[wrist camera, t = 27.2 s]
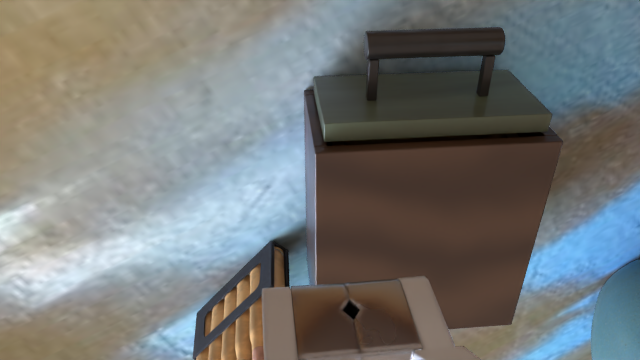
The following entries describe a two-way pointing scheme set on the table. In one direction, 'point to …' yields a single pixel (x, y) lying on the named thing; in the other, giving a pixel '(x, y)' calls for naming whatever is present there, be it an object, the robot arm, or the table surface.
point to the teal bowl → (618, 316)
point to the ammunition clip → (240, 309)
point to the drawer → (427, 93)
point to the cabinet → (429, 215)
